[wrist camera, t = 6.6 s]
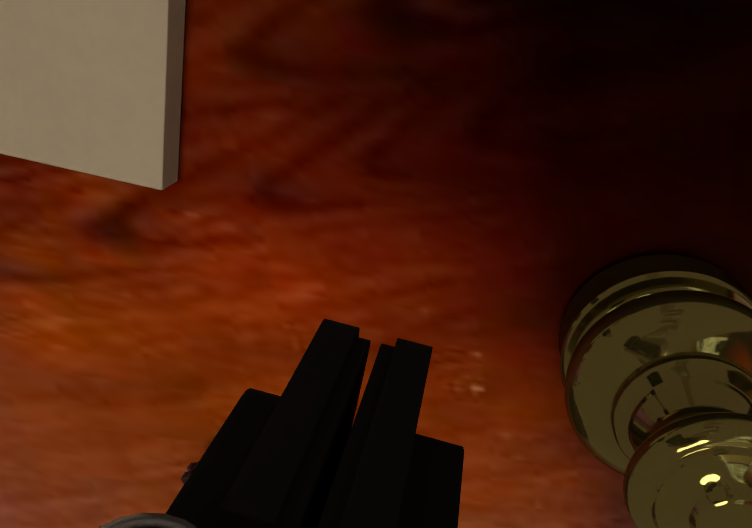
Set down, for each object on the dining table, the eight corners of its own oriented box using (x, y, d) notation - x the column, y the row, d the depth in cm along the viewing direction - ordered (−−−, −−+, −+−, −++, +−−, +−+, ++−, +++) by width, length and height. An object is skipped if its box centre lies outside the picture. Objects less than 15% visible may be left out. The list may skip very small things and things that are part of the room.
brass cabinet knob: (774, 252, 24) (941, 417, 15) (737, 423, 27) (857, 648, 18) (563, 245, 25) (598, 393, 16) (549, 408, 28) (572, 612, 19)
